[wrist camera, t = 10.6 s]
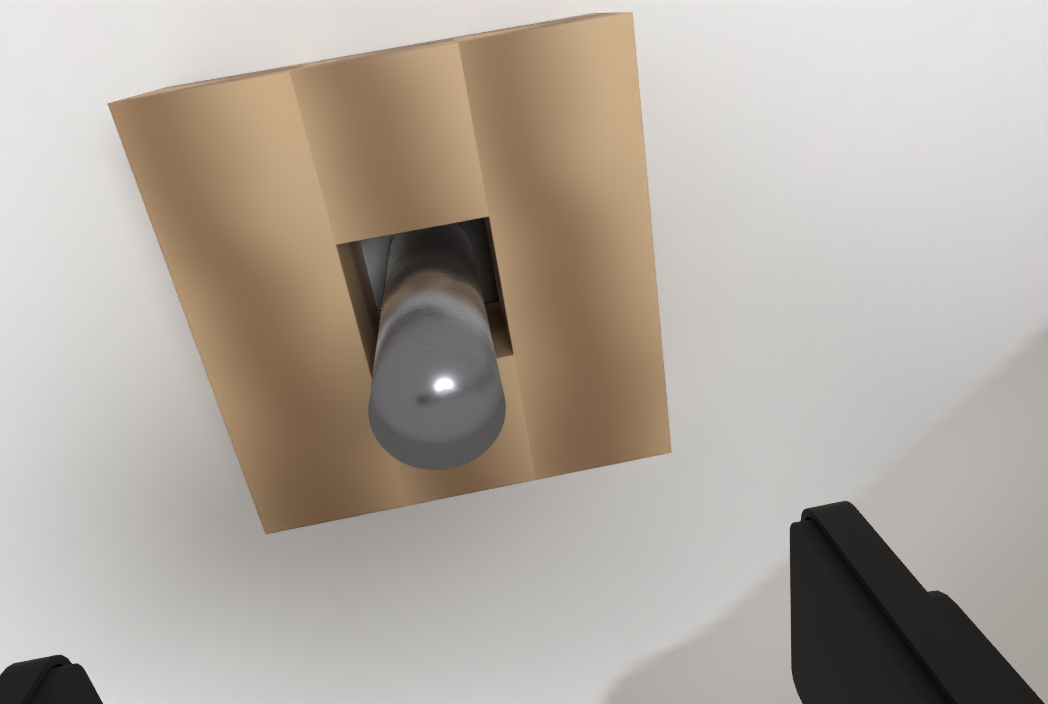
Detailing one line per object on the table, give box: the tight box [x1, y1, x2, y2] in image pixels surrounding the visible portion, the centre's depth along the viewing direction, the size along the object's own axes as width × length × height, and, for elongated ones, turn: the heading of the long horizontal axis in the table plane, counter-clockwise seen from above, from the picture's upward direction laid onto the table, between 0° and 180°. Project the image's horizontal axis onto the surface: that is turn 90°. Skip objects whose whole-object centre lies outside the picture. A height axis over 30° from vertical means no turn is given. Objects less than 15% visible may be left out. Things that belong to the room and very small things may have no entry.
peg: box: [368, 223, 506, 470], centre depth 22 cm, size 3×3×12 cm
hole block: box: [108, 12, 671, 534], centre depth 25 cm, size 14×14×5 cm
